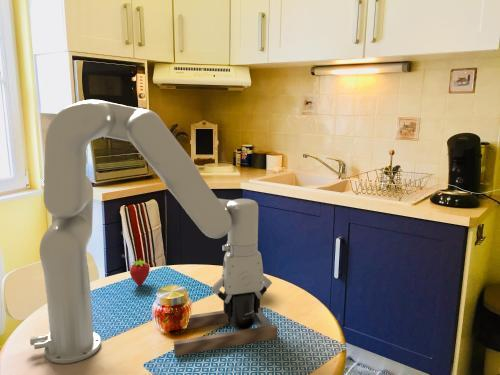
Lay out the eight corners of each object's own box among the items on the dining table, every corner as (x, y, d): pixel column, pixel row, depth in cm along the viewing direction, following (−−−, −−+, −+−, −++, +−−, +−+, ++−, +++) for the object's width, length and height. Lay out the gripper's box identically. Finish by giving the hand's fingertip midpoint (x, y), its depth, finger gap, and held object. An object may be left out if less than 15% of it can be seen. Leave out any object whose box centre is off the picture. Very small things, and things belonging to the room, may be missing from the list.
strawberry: (153, 281, 141) (152, 252, 139) (145, 291, 133) (144, 261, 131) (135, 280, 141) (134, 252, 139) (127, 290, 134) (125, 260, 132)
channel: (175, 355, 101) (174, 344, 100) (168, 328, 112) (167, 318, 111) (277, 338, 109) (277, 327, 108) (260, 314, 120) (261, 304, 119)
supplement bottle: (251, 332, 108) (252, 288, 105) (225, 328, 109) (225, 285, 106) (256, 318, 114) (257, 277, 112) (231, 315, 116) (232, 274, 113)
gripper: (212, 256, 101) (212, 325, 105) (280, 249, 106) (278, 315, 110) (205, 246, 108) (206, 310, 112) (269, 240, 113) (267, 301, 117)
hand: (241, 312), depth 111 cm, fingers closed on supplement bottle, 6 cm apart
